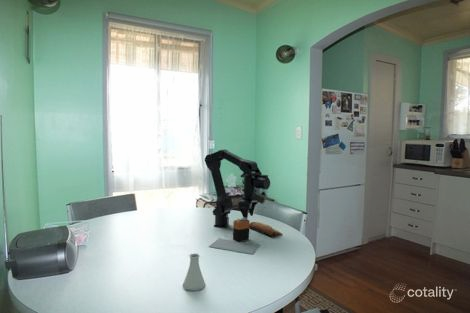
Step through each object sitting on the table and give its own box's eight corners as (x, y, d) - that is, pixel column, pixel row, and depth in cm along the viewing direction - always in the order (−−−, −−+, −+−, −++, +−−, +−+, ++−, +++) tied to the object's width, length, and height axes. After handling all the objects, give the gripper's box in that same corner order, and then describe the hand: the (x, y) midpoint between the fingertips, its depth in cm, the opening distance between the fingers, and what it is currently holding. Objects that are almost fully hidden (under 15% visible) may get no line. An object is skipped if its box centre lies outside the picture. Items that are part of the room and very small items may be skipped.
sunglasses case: (284, 234, 143) (280, 224, 140) (276, 244, 139) (271, 234, 137) (260, 225, 157) (255, 216, 155) (251, 234, 154) (247, 224, 151)
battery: (249, 239, 135) (250, 218, 134) (238, 242, 130) (239, 220, 130) (242, 237, 138) (243, 216, 138) (232, 240, 133) (233, 218, 133)
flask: (183, 280, 96) (184, 250, 95) (205, 279, 96) (206, 250, 96) (181, 292, 89) (181, 260, 88) (205, 291, 89) (205, 260, 88)
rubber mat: (208, 247, 125) (208, 246, 125) (219, 238, 135) (219, 238, 135) (252, 254, 118) (252, 253, 118) (260, 245, 128) (260, 244, 128)
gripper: (260, 191, 131) (259, 225, 132) (269, 185, 149) (269, 215, 150) (237, 189, 135) (236, 222, 136) (249, 183, 152) (248, 212, 154)
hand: (248, 218), depth 144 cm, fingers open, 9 cm apart
